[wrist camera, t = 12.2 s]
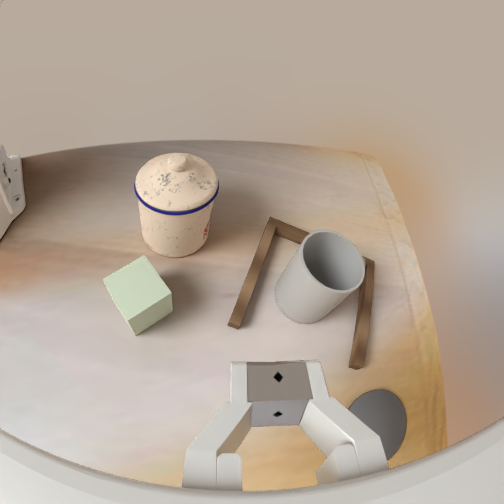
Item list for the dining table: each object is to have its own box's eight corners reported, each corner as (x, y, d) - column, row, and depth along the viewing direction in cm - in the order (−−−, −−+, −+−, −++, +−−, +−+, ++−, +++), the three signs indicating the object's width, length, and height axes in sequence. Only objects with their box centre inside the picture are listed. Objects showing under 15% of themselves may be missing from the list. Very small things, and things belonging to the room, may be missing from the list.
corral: (356, 369, 30) (363, 366, 29) (227, 325, 30) (229, 320, 29) (369, 266, 39) (374, 261, 38) (267, 223, 39) (270, 216, 38)
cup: (264, 278, 35) (288, 234, 27) (330, 263, 38) (362, 223, 31) (286, 332, 31) (319, 301, 24) (352, 309, 35) (393, 277, 28)
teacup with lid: (220, 251, 35) (236, 182, 26) (148, 268, 32) (138, 199, 22) (193, 185, 40) (201, 117, 31) (132, 196, 37) (126, 127, 27)
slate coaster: (358, 481, 22) (361, 481, 22) (328, 417, 26) (330, 417, 26) (411, 435, 26) (415, 435, 26) (386, 376, 30) (389, 375, 30)
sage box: (112, 300, 29) (102, 279, 24) (148, 278, 31) (144, 254, 27) (135, 336, 27) (127, 320, 23) (172, 311, 30) (171, 292, 26)
